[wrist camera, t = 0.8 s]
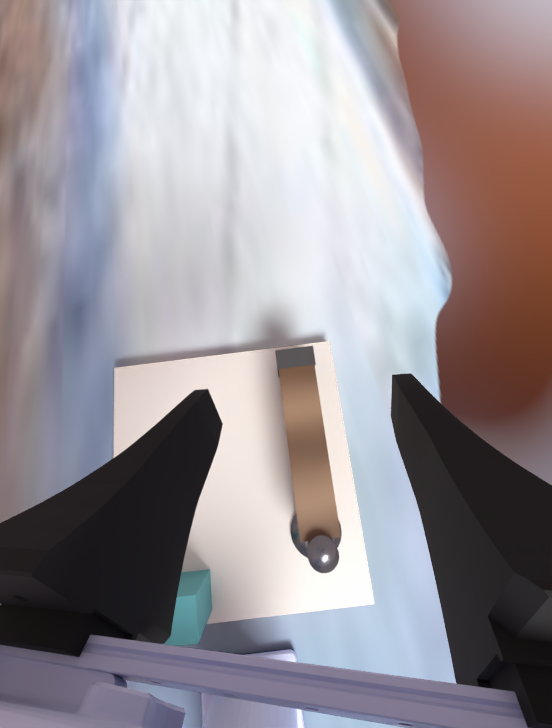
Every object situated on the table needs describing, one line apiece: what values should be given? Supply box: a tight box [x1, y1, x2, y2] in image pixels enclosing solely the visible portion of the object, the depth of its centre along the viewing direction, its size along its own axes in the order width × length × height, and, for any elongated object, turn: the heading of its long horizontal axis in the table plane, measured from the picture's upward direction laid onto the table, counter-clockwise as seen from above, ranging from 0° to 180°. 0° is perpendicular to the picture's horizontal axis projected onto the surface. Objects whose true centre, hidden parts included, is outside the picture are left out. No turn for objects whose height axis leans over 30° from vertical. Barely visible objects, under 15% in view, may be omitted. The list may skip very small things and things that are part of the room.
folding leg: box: [275, 346, 341, 573], centre depth 24 cm, size 16×3×5 cm, turn 7°
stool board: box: [114, 341, 375, 646], centre depth 25 cm, size 23×22×5 cm
